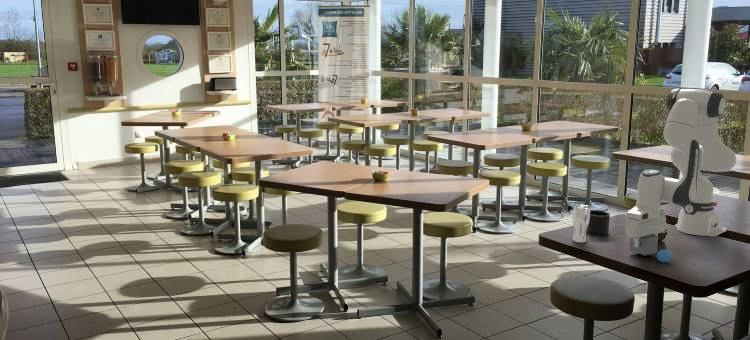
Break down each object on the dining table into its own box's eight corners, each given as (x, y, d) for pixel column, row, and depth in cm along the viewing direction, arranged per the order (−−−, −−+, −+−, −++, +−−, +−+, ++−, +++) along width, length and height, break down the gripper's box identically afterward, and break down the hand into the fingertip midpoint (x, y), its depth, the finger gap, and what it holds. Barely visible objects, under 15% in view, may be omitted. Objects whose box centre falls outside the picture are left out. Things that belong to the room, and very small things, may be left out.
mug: (611, 230, 287) (612, 211, 285) (606, 237, 276) (607, 217, 275) (589, 227, 291) (591, 208, 289) (583, 234, 281) (585, 214, 279)
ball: (674, 251, 243) (672, 263, 244) (663, 246, 247) (661, 258, 248) (666, 252, 240) (664, 265, 242) (654, 248, 245) (653, 260, 246)
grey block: (641, 247, 257) (642, 231, 256) (656, 252, 251) (658, 236, 250) (629, 250, 254) (630, 234, 252) (644, 255, 248) (646, 239, 246)
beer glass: (589, 243, 267) (591, 209, 264) (571, 242, 268) (574, 208, 266) (587, 239, 274) (589, 205, 271) (570, 237, 275) (572, 204, 272)
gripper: (657, 206, 257) (654, 239, 259) (623, 212, 247) (620, 247, 249) (671, 210, 251) (668, 243, 254) (637, 216, 241) (634, 251, 244)
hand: (644, 245), depth 252 cm, fingers closed on grey block, 7 cm apart
